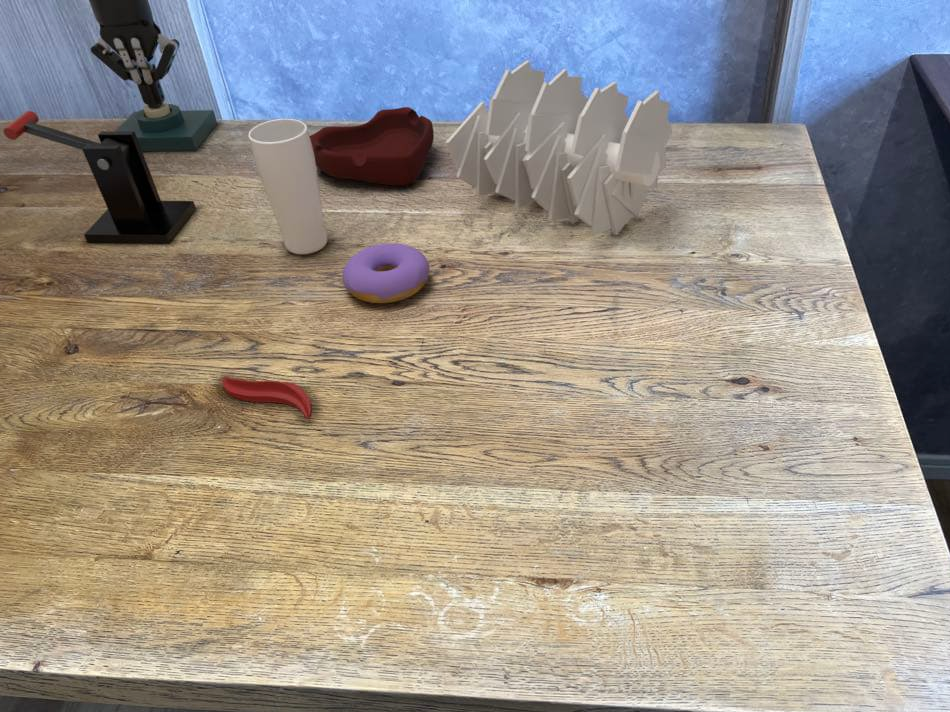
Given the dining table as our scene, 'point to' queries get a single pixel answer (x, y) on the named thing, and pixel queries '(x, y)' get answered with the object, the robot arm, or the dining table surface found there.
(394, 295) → the donut
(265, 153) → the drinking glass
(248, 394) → the cayenne pepper
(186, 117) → the control block
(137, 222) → the bracket
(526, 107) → the spiral staircase
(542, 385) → the dining table surface
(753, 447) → the dining table surface
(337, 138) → the ashtray
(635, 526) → the dining table surface
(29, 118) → the lever
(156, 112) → the button
